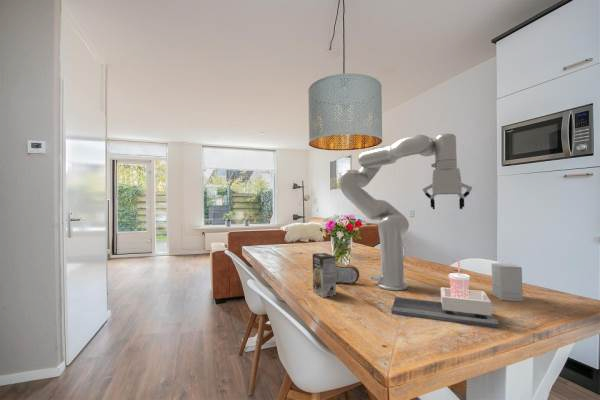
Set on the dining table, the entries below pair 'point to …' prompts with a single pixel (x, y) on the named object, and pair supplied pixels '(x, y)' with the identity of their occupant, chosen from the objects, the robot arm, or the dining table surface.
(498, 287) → the supplement box
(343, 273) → the tin
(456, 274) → the beverage cup
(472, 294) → the cart
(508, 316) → the dining table surface
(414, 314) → the track
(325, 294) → the coffee box
